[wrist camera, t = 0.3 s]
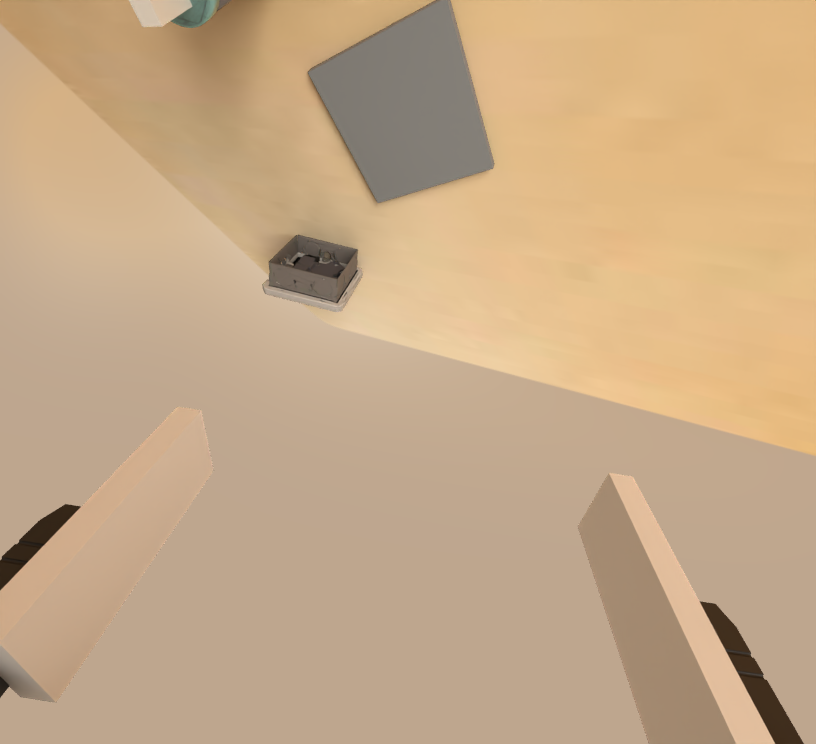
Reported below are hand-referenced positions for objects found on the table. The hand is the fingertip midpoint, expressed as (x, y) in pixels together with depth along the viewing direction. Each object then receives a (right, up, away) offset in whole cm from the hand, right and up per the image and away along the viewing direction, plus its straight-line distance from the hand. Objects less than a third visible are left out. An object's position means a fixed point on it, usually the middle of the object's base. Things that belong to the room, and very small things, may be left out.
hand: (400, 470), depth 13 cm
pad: (0, +25, +20) cm, 32 cm away
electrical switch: (-10, +19, +35) cm, 41 cm away
